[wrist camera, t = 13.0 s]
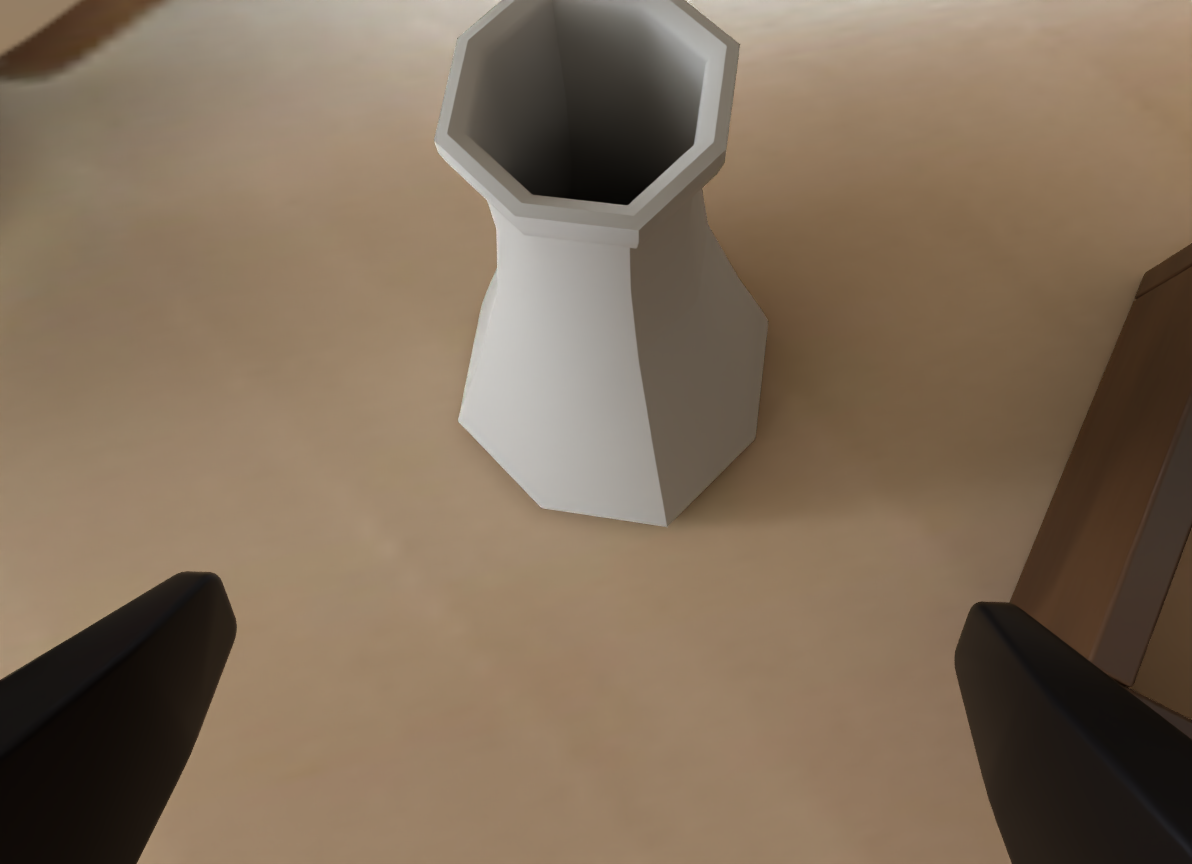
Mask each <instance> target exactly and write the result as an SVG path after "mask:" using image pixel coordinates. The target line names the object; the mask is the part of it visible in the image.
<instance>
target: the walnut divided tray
mask: <svg viewBox="0 0 1192 864" xmlns="http://www.w3.org/2000/svg"><path fill="white" fill-rule="evenodd" d="M1135 299H1136V300H1135V301H1134V302H1133V304H1132V306H1131V309H1130V311H1129V314H1128V316H1127V319H1126V321H1125V323H1124V326H1123V328H1122V331H1121V333H1120V336H1119V338H1118V340H1117V343H1116V345H1115V348H1114V350H1113V353H1112V355H1111V357H1110V360H1109V362H1108V365H1107V367H1106V370H1105V372H1104V374H1103V377H1102V379H1101V382H1100V384H1099V387H1098V389H1097V391H1096V394H1095V396H1094V399H1093V401H1092V404H1091V406H1090V408H1089V411H1088V413H1087V416H1086V418H1085V421H1084V423H1083V425H1082V428H1081V430H1080V433H1079V435H1078V438H1077V440H1076V442H1075V445H1074V447H1073V450H1072V452H1071V455H1070V457H1069V459H1068V462H1067V464H1066V467H1065V469H1064V472H1063V474H1062V476H1061V479H1060V481H1059V484H1058V486H1057V489H1056V491H1055V494H1054V496H1053V498H1052V501H1051V503H1050V506H1049V508H1048V511H1047V513H1046V515H1045V518H1044V520H1043V523H1042V525H1041V528H1040V530H1039V532H1038V535H1037V537H1036V540H1035V542H1034V545H1033V547H1032V549H1031V552H1030V554H1029V557H1028V559H1027V562H1026V564H1025V566H1024V569H1023V571H1022V574H1021V576H1020V579H1019V581H1018V583H1017V586H1016V588H1015V591H1014V593H1013V596H1012V598H1011V600H1010V603H1011V604H1014V605H1016V606H1018V607H1019V608H1021V609H1022V610H1024V611H1025V612H1026V613H1028V614H1029V615H1030V616H1031V617H1033V618H1034V619H1035V620H1037V621H1038V622H1039V623H1041V624H1042V625H1043V626H1045V627H1046V628H1047V629H1048V630H1050V631H1051V632H1052V633H1054V634H1055V635H1056V636H1058V637H1059V638H1060V639H1062V640H1063V641H1064V642H1065V643H1067V644H1068V645H1069V646H1071V647H1072V648H1073V649H1075V650H1076V651H1077V652H1078V653H1080V654H1081V655H1082V656H1084V657H1085V658H1086V659H1088V660H1089V661H1090V662H1092V663H1093V664H1094V665H1095V666H1097V667H1098V668H1099V669H1101V670H1102V671H1103V672H1105V673H1106V674H1107V675H1109V676H1110V677H1111V678H1112V679H1114V680H1115V681H1116V682H1118V683H1119V684H1120V685H1122V686H1123V687H1124V688H1126V689H1127V690H1128V691H1129V692H1131V693H1132V694H1133V695H1135V696H1136V697H1137V698H1139V699H1140V700H1141V701H1142V702H1144V703H1145V704H1146V705H1148V706H1149V707H1150V708H1152V709H1153V710H1154V711H1156V712H1157V713H1158V714H1159V715H1161V716H1162V717H1163V718H1165V719H1166V720H1167V721H1169V722H1170V723H1171V724H1173V725H1174V726H1175V727H1176V728H1178V729H1179V730H1180V731H1182V732H1183V733H1184V734H1186V735H1187V736H1188V737H1189V738H1191V739H1192V720H1191V719H1189V718H1187V717H1185V716H1183V715H1181V714H1179V713H1177V712H1175V711H1173V710H1171V709H1169V708H1167V707H1165V706H1163V705H1161V704H1159V703H1157V702H1155V701H1153V700H1151V699H1149V698H1147V697H1145V696H1143V695H1141V694H1139V693H1138V692H1136V691H1134V690H1132V689H1130V688H1128V687H1131V686H1132V685H1133V684H1134V682H1135V679H1136V676H1137V674H1138V671H1139V668H1140V666H1141V663H1142V660H1143V657H1144V655H1145V652H1146V649H1147V647H1148V644H1149V641H1150V639H1151V636H1152V633H1153V631H1154V628H1155V625H1156V622H1157V620H1158V617H1159V614H1160V612H1161V609H1162V606H1163V604H1164V601H1165V598H1166V596H1167V593H1168V590H1169V587H1170V585H1171V582H1172V579H1173V577H1174V574H1175V571H1176V569H1177V566H1178V563H1179V560H1180V558H1181V555H1182V552H1183V550H1184V547H1185V544H1186V542H1187V539H1188V536H1189V534H1190V531H1191V528H1192V243H1191V244H1190V245H1188V246H1187V247H1185V248H1183V249H1182V250H1180V251H1179V252H1177V253H1176V254H1174V255H1172V256H1171V257H1169V258H1168V259H1166V260H1165V261H1163V262H1162V263H1160V264H1158V265H1157V266H1155V267H1154V268H1152V269H1151V270H1149V271H1147V272H1146V273H1145V275H1144V277H1143V279H1142V282H1141V284H1140V287H1139V289H1138V292H1137V294H1136V296H1135ZM1126 686H1127V687H1126Z"/></svg>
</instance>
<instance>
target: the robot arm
mask: <svg viewBox="0 0 1192 864" xmlns="http://www.w3.org/2000/svg"><path fill="white" fill-rule="evenodd" d="M236 630H237V624H236V618H235V615H234V612H233V610H232V607H231V604H230V602H229V599H228V596H227V594H226V591H225V589H224V586H223V583H222V581H221V579H220V578H219V577H218V576H217V575H216V574H215V573H211V572H191V571H186V572H181V573H178V574H176V575H174V576H172V577H171V578H169V579H167V580H166V581H164V582H162V583H161V584H159V585H157V586H156V587H154V588H152V589H151V590H149V591H147V592H146V593H144V594H142V595H141V596H139V597H137V598H136V599H134V600H132V601H131V602H129V603H127V604H126V605H124V606H122V607H121V608H119V609H117V610H116V611H114V612H112V613H111V614H109V615H108V616H106V617H104V618H103V619H101V620H99V621H98V622H96V623H94V624H93V625H91V626H89V627H88V628H86V629H84V630H83V631H81V632H79V633H78V634H76V635H74V636H73V637H71V638H69V639H68V640H66V641H64V642H63V643H61V644H59V645H58V646H56V647H54V648H53V649H51V650H49V651H48V652H46V653H44V654H43V655H41V656H39V657H38V658H36V659H34V660H33V661H31V662H29V663H28V664H26V665H24V666H23V667H21V668H19V669H18V670H16V671H14V672H13V673H11V674H9V675H8V676H6V677H4V678H3V679H1V680H0V864H137V862H138V860H139V858H140V856H141V854H142V852H143V850H144V848H145V846H146V844H147V842H148V840H149V838H150V836H151V834H152V832H153V830H154V828H155V826H156V824H157V822H158V820H159V818H160V816H161V814H162V812H163V810H164V808H165V806H166V804H167V802H168V800H169V798H170V796H171V794H172V792H173V790H174V788H175V786H176V784H177V782H178V780H179V778H180V776H181V774H182V771H183V769H184V767H185V765H186V763H187V761H188V759H189V757H190V754H191V752H192V750H193V747H194V745H195V742H196V740H197V738H198V735H199V732H200V730H201V727H202V725H203V722H204V719H205V717H206V714H207V711H208V709H209V706H210V703H211V701H212V698H213V696H214V693H215V690H216V688H217V685H218V682H219V680H220V677H221V675H222V672H223V669H224V667H225V664H226V661H227V659H228V656H229V654H230V651H231V648H232V646H233V643H234V640H235V636H236ZM955 670H956V675H957V679H958V682H959V686H960V690H961V694H962V698H963V702H964V706H965V710H966V714H967V718H968V722H969V726H970V730H971V734H972V738H973V742H974V746H975V749H976V753H977V757H978V761H979V765H980V769H981V773H982V777H983V781H984V784H985V788H986V791H987V795H988V798H989V801H990V804H991V807H992V810H993V813H994V816H995V819H996V822H997V824H998V827H999V830H1000V832H1001V835H1002V838H1003V841H1004V843H1005V846H1006V849H1007V851H1008V854H1009V857H1010V859H1011V862H1012V864H1192V739H1191V738H1189V737H1188V736H1187V735H1186V734H1184V733H1183V732H1182V731H1180V730H1179V729H1178V728H1176V727H1175V726H1174V725H1173V724H1171V723H1170V722H1169V721H1167V720H1166V719H1165V718H1163V717H1162V716H1161V715H1159V714H1158V713H1157V712H1156V711H1154V710H1153V709H1152V708H1150V707H1149V706H1148V705H1146V704H1145V703H1144V702H1142V701H1141V700H1140V699H1139V698H1137V697H1136V696H1135V695H1133V694H1132V693H1131V692H1129V691H1128V690H1127V689H1126V688H1124V687H1123V686H1122V685H1120V684H1119V683H1118V682H1116V681H1115V680H1114V679H1112V678H1111V677H1110V676H1109V675H1107V674H1106V673H1105V672H1103V671H1102V670H1101V669H1099V668H1098V667H1097V666H1095V665H1094V664H1093V663H1092V662H1090V661H1089V660H1088V659H1086V658H1085V657H1084V656H1082V655H1081V654H1080V653H1078V652H1077V651H1076V650H1075V649H1073V648H1072V647H1071V646H1069V645H1068V644H1067V643H1065V642H1064V641H1063V640H1062V639H1060V638H1059V637H1058V636H1056V635H1055V634H1054V633H1052V632H1051V631H1050V630H1048V629H1047V628H1046V627H1045V626H1043V625H1042V624H1041V623H1039V622H1038V621H1037V620H1035V619H1034V618H1033V617H1031V616H1030V615H1029V614H1028V613H1026V612H1025V611H1024V610H1022V609H1021V608H1019V607H1018V606H1016V605H1014V604H1011V603H1005V602H978V603H975V604H974V605H973V606H972V607H971V609H970V611H969V614H968V616H967V619H966V622H965V625H964V628H963V630H962V633H961V636H960V639H959V641H958V644H957V647H956V651H955Z"/></svg>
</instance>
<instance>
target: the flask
mask: <svg viewBox="0 0 1192 864" xmlns="http://www.w3.org/2000/svg"><path fill="white" fill-rule="evenodd" d="M739 48H740V44H739V43H738V42H736V41H735V40H734V39H733V38H731V37H730V36H729V35H728V34H726V33H725V32H724V31H723V30H721V29H720V28H719V27H718V26H716V25H715V24H714V23H713V22H711V21H710V20H709V19H708V18H706V17H705V16H704V15H703V14H701V13H700V12H699V11H698V10H696V9H695V8H694V7H693V6H691V5H690V4H689V3H687V2H686V1H685V0H502V1H501V2H499V3H498V4H497V5H496V6H495V7H493V8H492V9H491V10H490V11H489V12H488V13H486V14H485V15H484V16H483V17H482V18H480V19H479V20H478V21H477V22H476V23H475V24H473V25H472V26H471V27H470V28H469V29H467V30H466V31H465V32H464V33H463V34H462V35H460V36H459V37H458V38H457V42H456V46H455V51H454V55H453V60H452V64H451V68H450V73H449V77H448V81H447V86H446V90H445V95H444V99H443V103H442V108H441V112H440V116H439V121H438V125H437V130H436V134H435V138H434V142H435V145H436V148H437V151H438V153H439V154H440V155H441V157H442V158H443V159H444V160H445V161H446V162H447V163H448V164H449V165H450V166H451V167H452V168H453V169H454V170H455V171H456V172H457V173H459V174H460V175H461V176H462V177H463V178H464V179H465V180H466V181H467V182H468V183H469V184H470V185H471V186H472V187H473V188H474V189H476V190H477V191H478V192H479V193H480V194H481V195H482V196H483V197H484V198H485V199H486V200H487V202H488V205H489V208H490V211H491V214H492V217H493V220H494V223H495V226H496V232H497V269H496V271H495V274H494V276H493V278H492V280H491V283H490V285H489V287H488V290H487V292H486V294H485V297H484V300H483V303H482V306H481V310H480V315H479V320H478V325H477V330H476V335H475V340H474V345H473V350H472V355H471V360H470V365H469V369H468V374H467V379H466V384H465V389H464V394H463V399H462V404H461V409H460V414H459V419H458V422H459V423H460V424H461V425H462V426H463V427H464V428H465V429H466V430H467V431H468V432H469V433H470V434H471V435H472V436H473V437H474V438H475V439H476V440H477V442H478V443H479V444H480V445H481V446H482V447H483V448H484V449H485V450H486V451H487V452H488V453H489V454H490V455H491V456H492V457H493V458H494V459H495V460H496V461H497V462H498V463H499V464H500V465H501V467H502V468H503V469H504V470H505V471H506V472H507V473H508V474H509V475H510V476H511V477H512V478H513V479H514V480H515V481H516V482H517V483H518V484H519V485H520V486H521V487H522V488H523V489H524V490H525V492H526V493H527V494H528V495H529V496H530V497H531V498H532V499H533V500H534V501H535V502H536V503H537V504H538V505H539V506H540V507H541V508H544V509H551V510H558V511H564V512H571V513H577V514H584V515H591V516H597V517H604V518H611V519H617V520H624V521H630V522H637V523H644V524H650V525H657V526H664V527H668V526H669V525H670V524H671V523H672V522H673V521H674V520H675V519H676V518H677V517H678V516H679V515H680V514H681V513H682V512H683V511H684V510H685V509H686V508H687V507H688V506H689V505H690V504H691V503H692V502H693V501H694V500H695V499H696V498H697V497H698V496H699V495H700V494H701V493H702V492H703V491H704V490H705V489H706V488H707V487H708V486H709V485H710V484H711V483H712V482H713V481H714V480H715V479H716V478H717V477H718V476H719V475H720V474H721V473H722V472H723V471H724V470H725V469H726V468H727V467H728V466H729V465H730V463H731V462H732V461H733V460H734V459H735V458H736V457H737V456H738V455H739V454H740V453H741V452H742V451H743V450H744V449H745V448H746V447H747V446H748V445H749V444H750V443H751V442H752V441H753V440H754V439H755V438H756V429H757V420H758V411H759V402H760V393H761V384H762V375H763V366H764V357H765V348H766V339H767V330H768V320H767V318H766V316H765V315H764V313H763V311H762V310H761V308H760V307H759V305H758V304H757V303H756V301H755V300H754V298H753V297H752V296H751V294H750V293H749V292H748V290H747V289H746V287H745V286H744V285H743V283H742V282H741V280H740V279H739V278H738V276H737V274H736V272H735V271H734V269H733V267H732V265H731V264H730V262H729V260H728V258H727V257H726V255H725V253H724V251H723V250H722V248H721V246H720V244H719V243H718V241H717V239H716V237H715V236H714V234H713V232H712V230H711V229H710V227H709V225H708V221H707V215H706V209H705V203H704V197H703V192H702V188H703V187H704V186H705V185H706V184H707V183H708V182H709V181H710V180H711V179H712V178H713V177H714V176H716V175H717V173H718V172H719V170H720V169H721V167H722V166H723V164H724V163H725V156H726V148H727V141H728V133H729V125H730V118H731V110H732V103H733V95H734V87H735V80H736V72H737V64H738V57H739Z"/></svg>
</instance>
